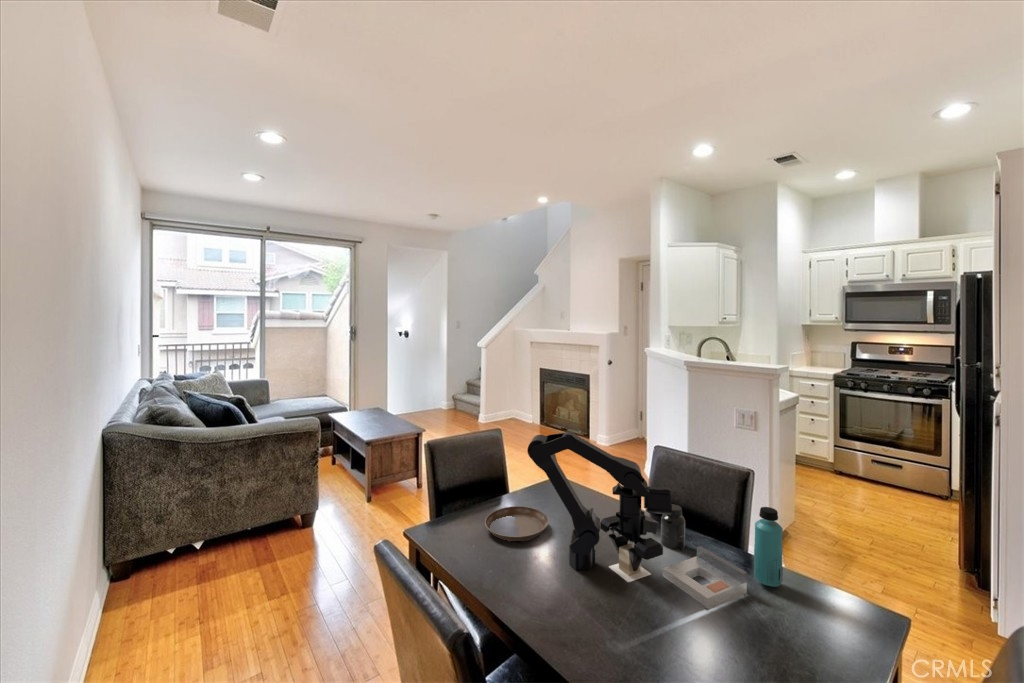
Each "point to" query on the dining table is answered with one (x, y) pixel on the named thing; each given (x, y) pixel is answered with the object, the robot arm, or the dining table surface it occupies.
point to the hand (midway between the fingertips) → (629, 566)
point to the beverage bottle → (768, 548)
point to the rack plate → (708, 578)
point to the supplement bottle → (673, 529)
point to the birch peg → (626, 560)
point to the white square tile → (632, 577)
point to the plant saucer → (520, 522)
